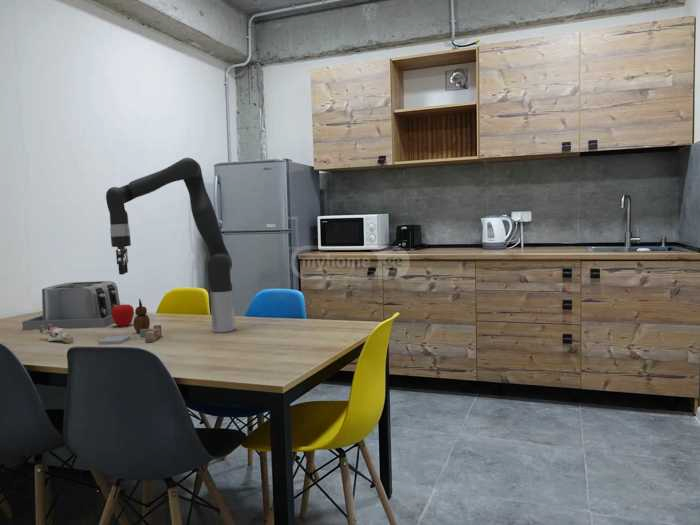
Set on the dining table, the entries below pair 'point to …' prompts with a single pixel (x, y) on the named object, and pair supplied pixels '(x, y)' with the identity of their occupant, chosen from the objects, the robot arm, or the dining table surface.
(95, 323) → the toaster tray
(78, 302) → the toaster
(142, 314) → the wooden figurine
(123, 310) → the apple
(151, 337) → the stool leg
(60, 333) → the figurine
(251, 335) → the dining table surface
